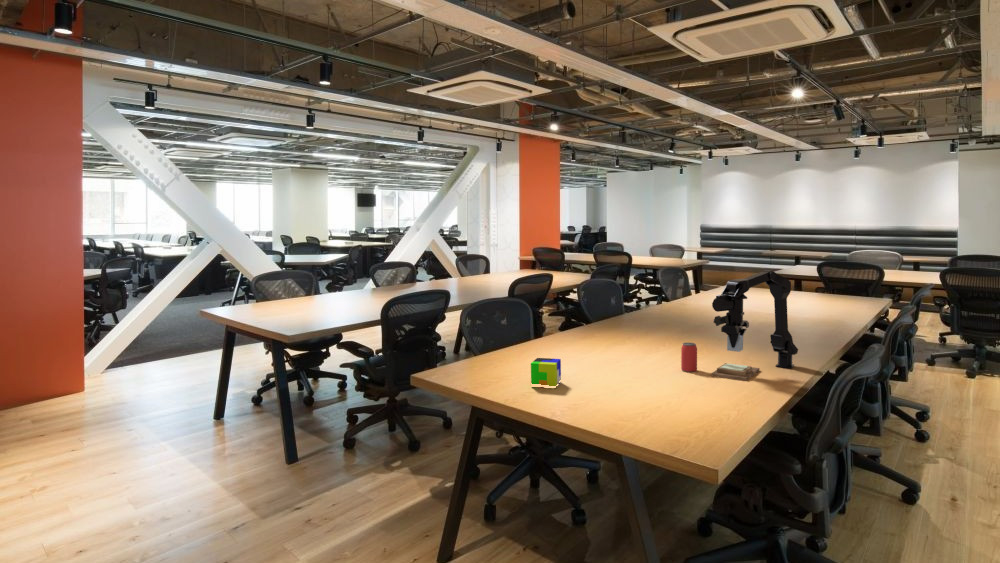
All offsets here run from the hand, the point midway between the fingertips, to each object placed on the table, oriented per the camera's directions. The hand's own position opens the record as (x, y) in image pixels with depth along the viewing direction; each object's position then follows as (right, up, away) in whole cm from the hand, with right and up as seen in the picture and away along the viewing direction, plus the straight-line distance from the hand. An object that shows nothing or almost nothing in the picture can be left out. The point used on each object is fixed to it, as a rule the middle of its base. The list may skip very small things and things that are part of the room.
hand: (735, 346), depth 241 cm
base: (+1, -12, +3) cm, 12 cm away
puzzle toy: (-81, -15, -8) cm, 82 cm away
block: (0, -2, 0) cm, 2 cm away
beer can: (-16, -12, +9) cm, 22 cm away
